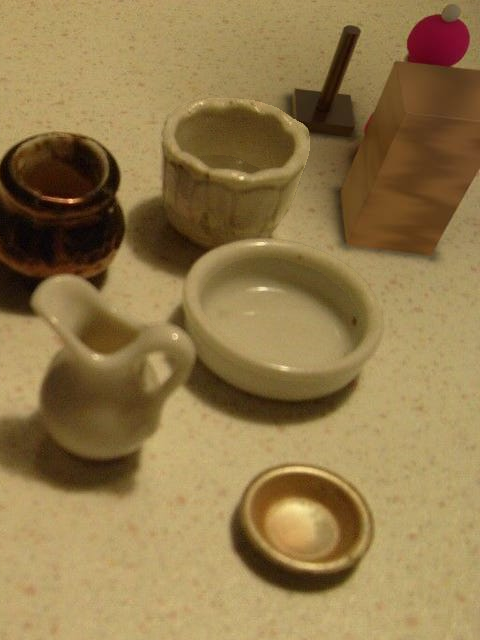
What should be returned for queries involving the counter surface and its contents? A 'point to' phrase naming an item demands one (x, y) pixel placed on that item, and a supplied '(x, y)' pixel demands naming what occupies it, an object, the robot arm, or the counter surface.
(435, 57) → the pepper mill
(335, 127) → the stand
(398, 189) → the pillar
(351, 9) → the counter surface
